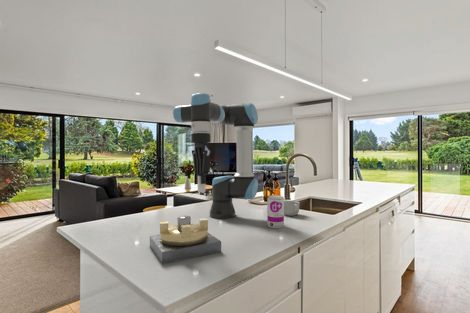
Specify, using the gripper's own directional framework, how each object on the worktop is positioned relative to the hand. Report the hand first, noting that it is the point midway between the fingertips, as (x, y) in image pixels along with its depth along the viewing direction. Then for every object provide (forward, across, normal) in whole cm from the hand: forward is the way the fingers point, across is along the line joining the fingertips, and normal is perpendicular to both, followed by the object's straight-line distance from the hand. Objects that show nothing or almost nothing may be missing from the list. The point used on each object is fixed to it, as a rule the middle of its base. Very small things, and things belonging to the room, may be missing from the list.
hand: (201, 191), depth 108 cm
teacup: (+22, -15, +66) cm, 71 cm away
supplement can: (+22, -3, +43) cm, 48 cm away
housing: (+21, 0, -8) cm, 23 cm away
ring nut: (+17, 0, -8) cm, 19 cm away
